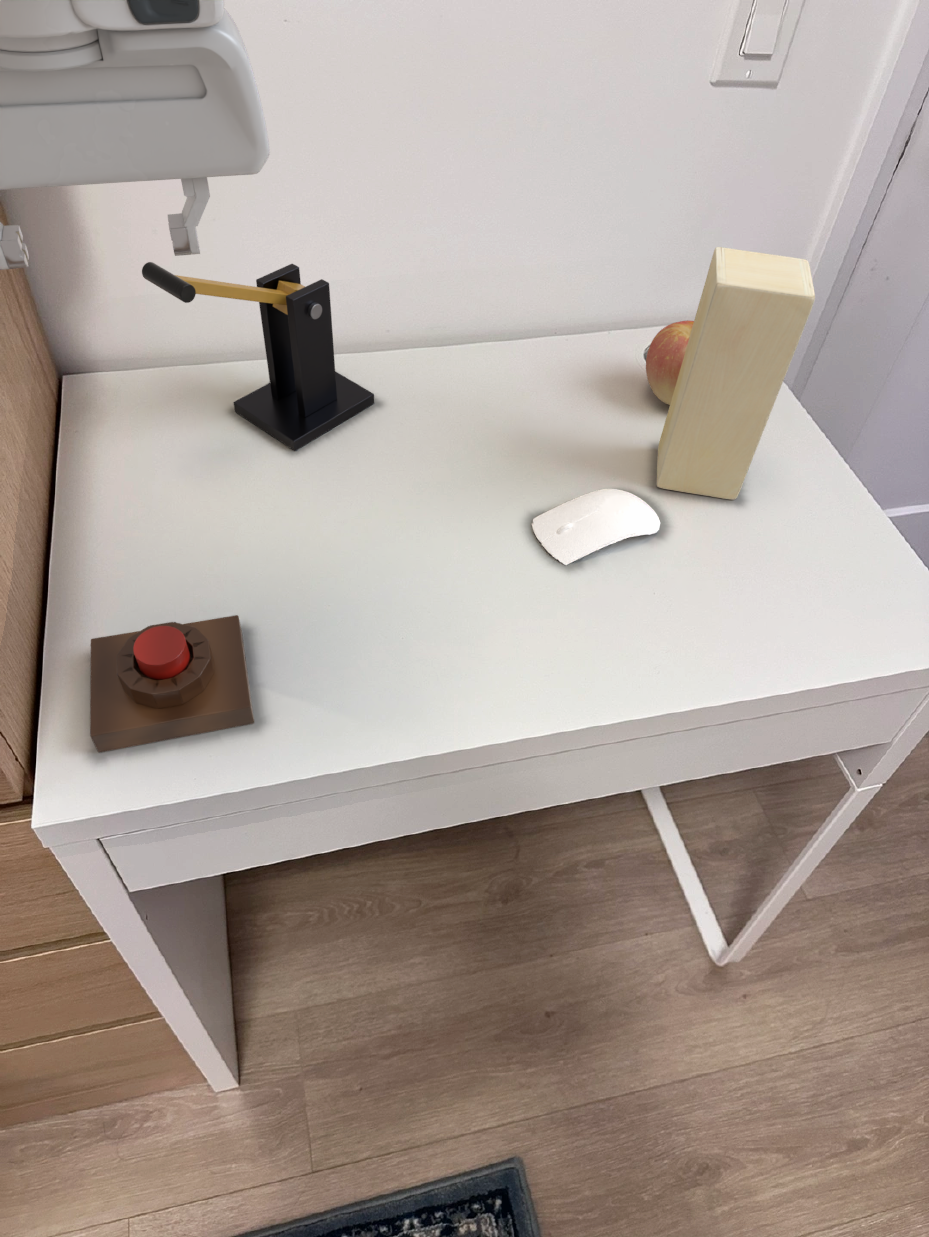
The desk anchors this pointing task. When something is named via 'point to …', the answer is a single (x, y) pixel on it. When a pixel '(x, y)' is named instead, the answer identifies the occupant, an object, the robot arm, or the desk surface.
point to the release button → (161, 652)
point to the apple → (667, 358)
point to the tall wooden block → (733, 369)
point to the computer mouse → (593, 523)
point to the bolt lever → (217, 288)
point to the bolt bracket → (300, 368)
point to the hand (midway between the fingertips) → (102, 257)
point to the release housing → (169, 687)
